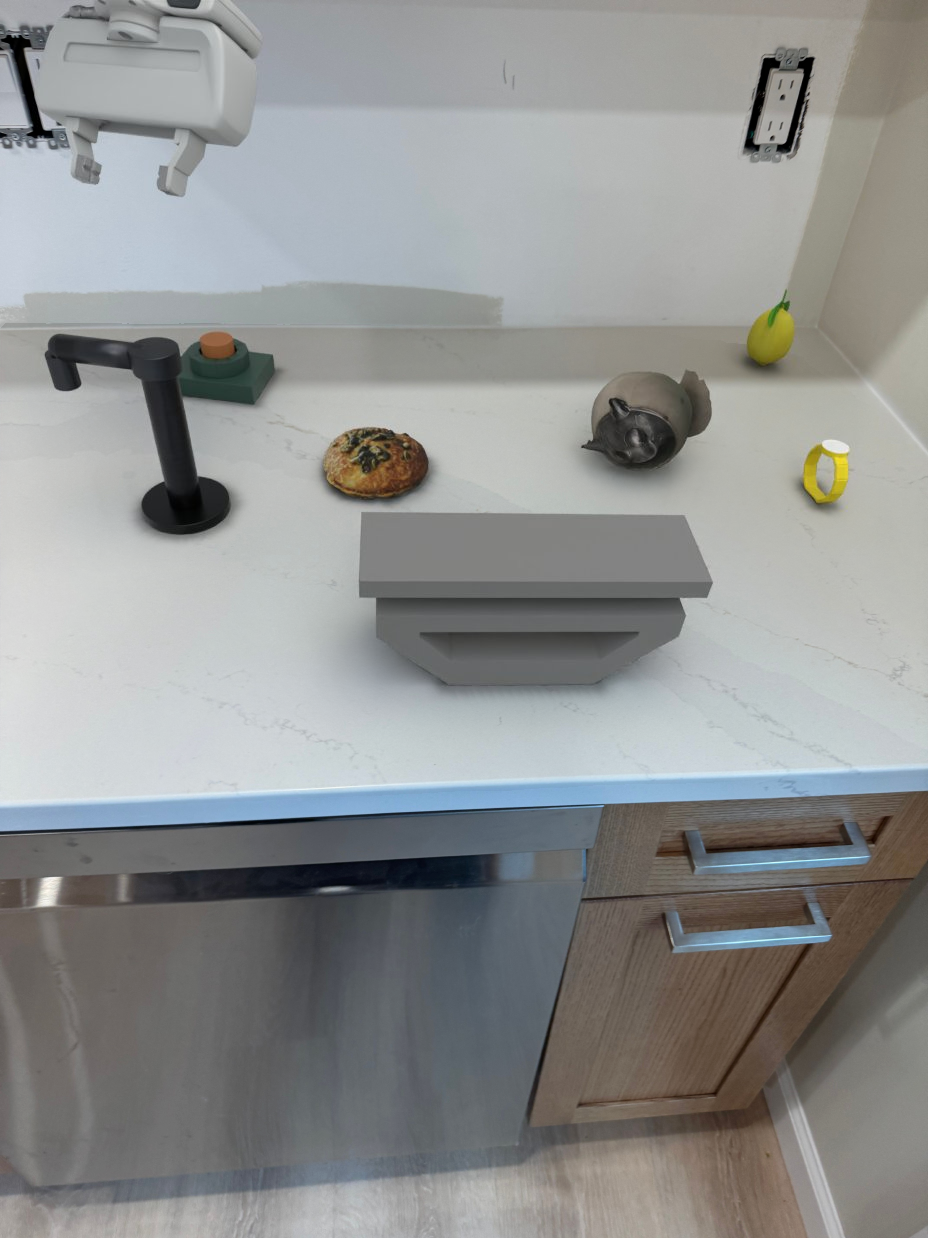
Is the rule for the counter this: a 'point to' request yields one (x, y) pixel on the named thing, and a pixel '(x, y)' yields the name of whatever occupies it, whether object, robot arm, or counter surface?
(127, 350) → the spout
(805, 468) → the watch
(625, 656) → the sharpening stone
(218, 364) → the control block
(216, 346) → the tap button
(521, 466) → the counter surface
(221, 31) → the robot arm
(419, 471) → the bread roll
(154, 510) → the faucet base
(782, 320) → the lemon
